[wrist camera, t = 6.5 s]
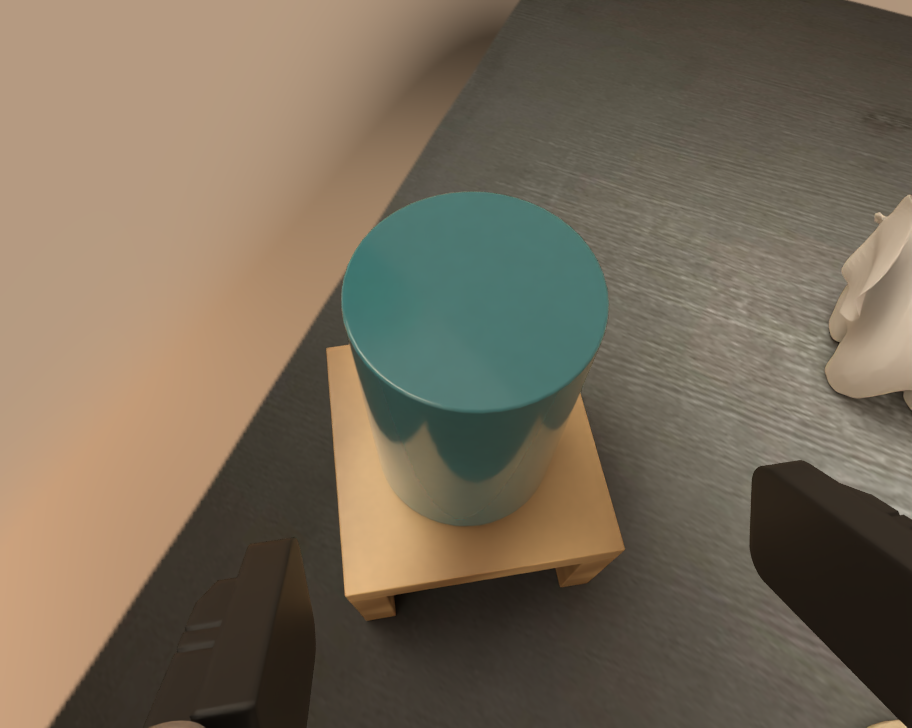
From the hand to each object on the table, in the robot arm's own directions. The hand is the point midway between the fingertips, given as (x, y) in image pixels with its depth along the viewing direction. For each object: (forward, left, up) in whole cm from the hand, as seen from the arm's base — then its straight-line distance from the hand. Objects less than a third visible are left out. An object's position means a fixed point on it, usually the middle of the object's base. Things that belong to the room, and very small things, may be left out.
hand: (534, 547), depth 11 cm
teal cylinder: (0, +6, -10) cm, 11 cm away
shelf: (0, +6, -15) cm, 17 cm away
